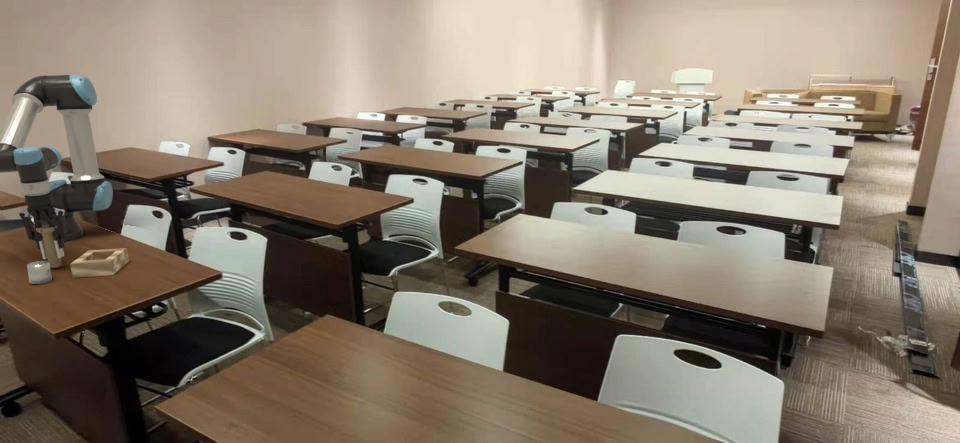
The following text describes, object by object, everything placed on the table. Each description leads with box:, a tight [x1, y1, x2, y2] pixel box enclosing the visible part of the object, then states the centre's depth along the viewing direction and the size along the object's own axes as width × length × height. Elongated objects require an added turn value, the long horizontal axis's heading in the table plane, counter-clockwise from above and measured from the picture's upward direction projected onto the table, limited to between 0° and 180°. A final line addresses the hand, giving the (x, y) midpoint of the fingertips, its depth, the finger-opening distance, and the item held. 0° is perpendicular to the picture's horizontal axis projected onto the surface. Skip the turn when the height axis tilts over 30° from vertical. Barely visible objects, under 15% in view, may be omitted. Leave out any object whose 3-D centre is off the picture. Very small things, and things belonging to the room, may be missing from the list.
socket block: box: [69, 247, 130, 279], centre depth 199 cm, size 14×12×5 cm
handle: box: [36, 224, 63, 269], centre depth 199 cm, size 5×6×15 cm
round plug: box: [26, 260, 53, 285], centre depth 189 cm, size 6×6×6 cm
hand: (53, 257), depth 200 cm, fingers closed on handle, 4 cm apart
